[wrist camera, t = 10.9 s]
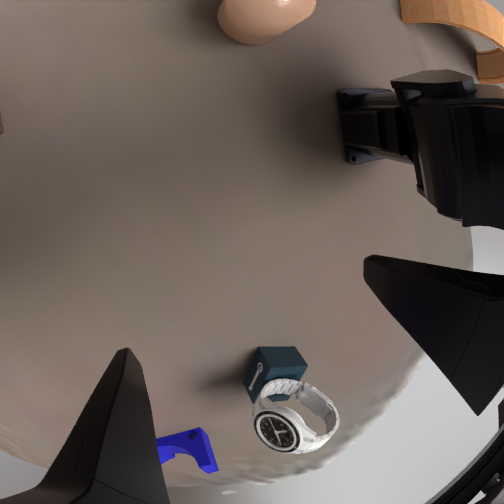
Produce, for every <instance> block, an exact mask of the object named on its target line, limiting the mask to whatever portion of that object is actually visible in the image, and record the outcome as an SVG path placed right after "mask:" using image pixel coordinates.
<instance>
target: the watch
mask: <svg viewBox="0 0 504 504" xmlns="http://www.w3.org/2000/svg"><path fill="white" fill-rule="evenodd" d="M307 367H308V365H307V363H306V362H305V360H304V359H303V358H302V356H301V355H300V353H299V352H298V350H297V349H296V347H259V348H258V350H257V353H256V355H255V357H254V360H253V362H252V364H251V367H250V369H249V371H248V374H247V376H246V378H245V380H244V385H245V387H246V390H247V392H248V394H249V397H250V399H251V401H252V403H253V404H254V403H255V404H254V406H253V411H252V416H253V417H252V419H253V426H254V429H255V432H256V434H257V436H258V438H259V439H260V440H261V441H262V442H263V443H264V444H265V445H266V446H267V447H269V448H271V449H272V450H274V451H277V452H280V453H297V454H300V453H306V452H310V451H314V450H316V449H318V448H320V447H321V446H322V445H323V444H324V443H325V442H326V441H327V440H328V439H329V438H330V437H331V436H332V435H333V433H334V432H335V431H336V430H337V428H338V425H339V415H338V413H337V410H336V408H335V407H334V405H333V404H332V403H333V402H332V401H331V400H330V399H329V398H328V397H327V396H325V395H324V394H323V393H322V392H320V391H319V390H317V389H316V388H315V387H313V386H311V385H310V384H308V383H306V382H304V383H302V382H299V381H300V379H301V377H302V375H303V374H304V372H305V370H306V369H307ZM291 395H292V396H294V397H296V400H297V401H299V402H300V403H302V404H303V405H305V406H306V407H308V408H309V409H310V410H311V411H312V412H314V413H315V414H316V415H317V416H319V415H320V417H321V418H322V419H323V420H324V421H325V423H326V429H327V431H326V435H323V436H321V437H315V436H316V435H317V434H316V433H315V432H314V431H312V430H311V429H309V428H308V427H307V426H306V425H305V423H304V421H303V420H302V418H301V417H300V416H299V415H298V414H297V413H296V412H295V411H293V410H292V409H290V408H288V407H285V406H282V405H277V404H275V403H274V402H275V401H284V400H288V399H289V397H290V396H291Z"/></svg>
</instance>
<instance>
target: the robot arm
mask: <svg viewBox="0 0 504 504" xmlns="http://www.w3.org/2000/svg"><path fill="white" fill-rule="evenodd" d="M390 82H391V85H392V88H394V90H395V92H392V91H391V90H389V89H343V90H339V91H338V92H337V99H338V104H339V110H340V118H341V124H342V131H343V138H344V143H345V151H346V159H347V162H348V163H349V164H351V165H356V164H361V163H365V162H370V161H375V160H379V159H384V158H385V159H390V160H395V161H399V162H403V163H408V164H412V165H414V167H415V173H416V178H417V192H418V193H420V194H421V195H422V196H423V197H425V198H426V199H427V200H428V201H429V202H430V203H431V204H432V205H433V206H435V207H436V208H437V212H438V213H439V214H441V215H443V216H446V217H448V218H451V219H454V220H457V221H461V222H462V226H463V227H470V226H491V227H495V228H499V229H502V230H504V89H502V88H501V87H499V86H496V85H486V84H475V83H474V79H473V77H471V76H468V75H465V74H462V73H459V72H456V71H452V70H430V71H422V72H418V73H415V74H411V75H408V76H404V77H401V78H397V79H394V80H391V81H390ZM342 93H343V94H344V97H343V96H342ZM352 157H353V161H352ZM363 276H364V280H365V282H366V283H367V285H368V286H369V287H370V288H371V290H372V291H373V292H374V294H375V295H376V296H377V298H378V299H379V300H380V301H381V303H382V304H383V305H384V307H385V308H386V309H387V310H388V311H389V312H390V314H391V315H392V316H393V317H394V318H395V319H396V320H397V321H398V322H399V323H400V324H401V326H402V327H403V328H404V329H405V330H406V331H407V332H408V333H409V334H410V336H411V337H412V338H413V339H414V340H415V341H416V342H417V343H418V345H419V346H420V347H421V348H422V349H423V350H424V351H425V353H426V354H427V355H428V356H429V357H430V358H431V359H432V361H433V362H434V363H435V364H436V365H437V366H438V368H439V369H440V370H441V371H442V373H443V374H444V375H445V376H446V377H447V379H448V380H449V381H450V382H451V384H452V385H453V386H454V387H455V389H456V390H457V391H458V392H459V393H460V395H461V396H462V397H463V399H464V400H465V401H466V402H467V404H468V405H469V406H470V408H471V409H472V410H473V411H474V413H475V414H476V415H477V416H479V415H480V414H481V413H482V412H483V410H484V409H485V408H486V407H487V406H488V404H489V403H490V402H491V401H492V400H493V398H494V397H495V396H496V395H497V393H498V392H499V390H500V389H501V388H502V387H504V275H497V274H489V273H480V272H473V271H467V270H461V269H455V268H453V269H452V268H449V267H444V266H438V265H433V264H427V263H421V262H415V261H410V260H404V259H398V258H392V257H386V256H380V255H370V256H368V257H366V258H365V259H364V269H363ZM498 413H499V430H498V432H497V433H496V434H495V435H494V437H493V438H492V439H491V440H490V441H489V443H488V444H487V445H486V446H485V447H484V448H483V449H482V451H481V452H480V453H479V454H478V455H477V456H476V457H475V458H474V459H473V460H472V461H471V462H470V464H469V465H468V466H467V467H466V468H465V469H464V470H463V471H462V472H461V473H459V475H457V476H456V477H455V478H454V479H453V480H452V481H451V482H450V483H449V484H448V485H447V486H445V487H444V488H443V489H442V490H441V491H440V492H438V493H437V494H436V495H435V496H434V497H432V498H431V499H430V500H429V501H427V502H426V503H425V504H467V503H469V502H470V501H471V500H472V499H473V498H474V497H475V496H476V495H477V494H478V493H479V491H480V490H481V491H482V492H483V493H484V495H485V497H484V498H482V499H481V500H480V501H478V502H476V503H475V504H504V399H503V400H502V401H501V403H500V404H499V405H498ZM0 504H170V501H169V497H168V493H167V489H166V485H165V481H164V476H163V472H162V467H161V463H160V458H159V453H158V448H157V442H156V436H155V430H154V424H153V418H152V411H151V405H150V400H149V396H148V392H147V388H146V384H145V379H144V375H143V370H142V367H141V364H140V362H139V361H138V360H137V358H136V357H135V355H134V354H133V352H132V351H131V349H129V348H124V349H120V350H118V351H117V352H116V354H115V356H114V357H113V359H112V361H111V362H110V364H109V366H108V367H107V369H106V371H105V372H104V374H103V376H102V377H101V379H100V381H99V382H98V384H97V386H96V388H95V389H94V391H93V393H92V395H91V396H90V398H89V400H88V402H87V404H86V405H85V407H84V409H83V411H82V413H81V414H80V416H79V418H78V420H77V422H76V424H75V425H74V427H73V429H72V431H71V433H70V435H69V437H68V438H67V440H66V442H65V444H64V445H63V447H62V449H61V450H60V452H59V454H58V455H57V457H56V459H55V460H54V462H53V463H52V465H51V467H50V468H49V470H48V472H47V474H46V475H45V477H44V478H43V480H42V481H41V482H40V483H39V484H38V485H37V486H36V487H34V488H32V489H30V490H27V491H25V492H22V493H19V494H16V495H13V496H10V497H7V498H4V499H0Z"/></svg>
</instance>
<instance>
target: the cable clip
mask: <svg viewBox="0 0 504 504" xmlns="http://www.w3.org/2000/svg"><path fill="white" fill-rule="evenodd" d="M156 442H157V448H158V453H159V458H160V463H161V464H163V463H164V462H165V461H167V460H169V459H172V458H175V454H174V453H183V454H188V455H191V456H193V457H194V458H195V460H196V461H197V463H198V466H199V468H201V469H202V470H204V471H205V472H206V473H212V472H216V471H219V469H218V467H217V463H216V460H215V457H214V454H213V451H212V448H211V445H210V441H209V438H208V435H207V434H206V433H205V432H204V431H203V430H202V429H201V428H200V427H199V428H195V429H192V430H189V431H185V432H181V433H178V434H174V435H170V436H166V437H162V438H158V439H156Z"/></svg>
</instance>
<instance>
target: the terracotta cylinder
mask: <svg viewBox="0 0 504 504" xmlns="http://www.w3.org/2000/svg"><path fill="white" fill-rule="evenodd" d="M315 6H316V0H223V1H222V3H221V5H220V6H219V8H218V12H217V20H218V23H219V25H220V27H221V29H222V30H223V31H224V32H225V34H227V35H228V36H229V37H230V38H232V39H234V40H235V41H238V42H240V43H243V44H248V45H261V44H266V43H268V42H270V41H272V40H274V39H275V38H277V37H278V36H280V35H281V34H282V33H284V32H286V31H287V30H289V29H290V28H292V27H293V26H295V25H296V24H298V23H300V22H301V21H303V20H305V19H306V18H308V17H309V16H310V15H311V14H312V13H313V11H314V9H315Z"/></svg>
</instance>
